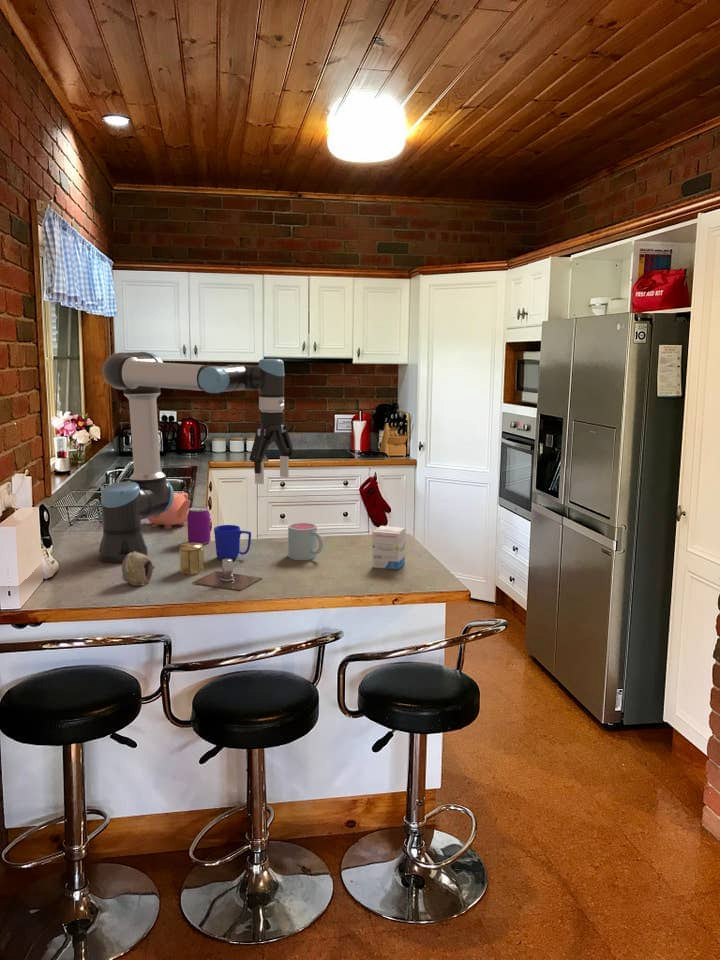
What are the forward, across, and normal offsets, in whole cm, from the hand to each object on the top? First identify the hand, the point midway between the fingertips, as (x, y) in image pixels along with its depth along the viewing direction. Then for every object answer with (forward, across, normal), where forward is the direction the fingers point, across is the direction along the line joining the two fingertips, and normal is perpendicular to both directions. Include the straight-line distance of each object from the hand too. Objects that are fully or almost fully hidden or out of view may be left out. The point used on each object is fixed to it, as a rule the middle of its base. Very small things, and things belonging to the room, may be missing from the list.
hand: (272, 480), depth 235 cm
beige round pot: (+27, -34, +23) cm, 49 cm away
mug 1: (+27, -1, +15) cm, 31 cm away
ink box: (+27, +18, -32) cm, 45 cm away
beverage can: (+27, +10, +37) cm, 47 cm away
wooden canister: (+27, -18, +17) cm, 37 cm away
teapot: (+27, +22, +62) cm, 71 cm away
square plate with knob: (+27, -20, +2) cm, 34 cm away
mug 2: (+27, +12, -5) cm, 30 cm away
